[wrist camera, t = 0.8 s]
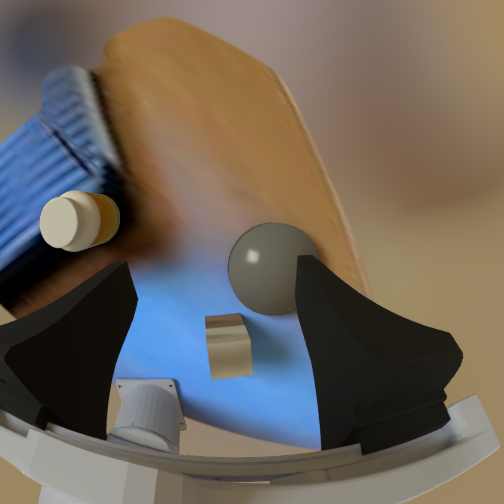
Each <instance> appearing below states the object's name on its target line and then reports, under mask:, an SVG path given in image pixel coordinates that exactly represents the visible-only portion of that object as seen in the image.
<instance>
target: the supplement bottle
mask: <svg viewBox="0 0 504 504" xmlns="http://www.w3.org/2000/svg"><path fill="white" fill-rule="evenodd" d="M119 223H120V213H119V210H118V207H117V205H116V204H115V202H114V201H113V200H112V199H111V198H109V197H108V196H105V195H102V194H95V193H89V192H83V191H69V192H66V193H64V194H62V195H61V196H60V197H57V198H54V199H52V200H50V201H49V202H48V203H47V204H46V205H45V207H44V209H43V211H42V213H41V217H40V229H41V233H42V235H43V237H44V239H45V241H46V242H47V243H48V244H50V245H51V246H53V247H56V248H63V249H65V250H67V251H80V250H83V249H86V248H89V247H92V246H95V245H99V244H102V243H104V242H107V241H108V240H110V239H111V238H112V237H113V236H114V235H115V233H116V232H117V230H118V227H119Z"/></svg>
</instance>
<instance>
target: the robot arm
mask: <svg viewBox="0 0 504 504" xmlns="http://www.w3.org/2000/svg"><path fill="white" fill-rule="evenodd" d="M295 301H296V307H297V314H298V318H299V322H300V325H301V329H302V332H303V335H304V339H305V342H306V346H307V349H308V353H309V356H310V360H311V364H312V369H313V375H314V381H315V388H316V396H317V404H318V413H319V423H320V435H321V451H318V452H311V453H303V454H295V455H284V456H271V457H249V458H248V457H247V458H228V457H227V458H226V457H203V456H190V455H180V454H179V432H180V431H181V430H186V424H185V420H184V417H183V413H182V410H181V406H180V402H179V398H178V394H177V390H176V386H175V382H174V380H173V379H117V380H116V382H115V383H116V386H117V389H118V391H119V394H120V397H121V399H122V404H121V407H120V411H119V413H118V417H117V420H116V423H115V426H114V427H113V426H112V427H111V431H110V433H109V435H108V433H107V432H106V425H107V424H106V423H107V411H108V401H109V395H110V389H111V383H112V378H113V374H114V369H115V365H116V362H117V359H118V356H119V353H120V351H121V348H122V346H123V343H124V341H125V338H126V336H127V333H128V331H129V328H130V326H131V323H132V321H133V318H134V314H135V311H136V307H137V302H138V297H137V294H136V290H135V287H134V284H133V281H132V278H131V274H130V271H129V267H128V264H127V261H124V262H114V263H112V264H110V265H108V266H106V267H105V268H103V269H102V270H100V271H99V272H97V273H96V274H94V275H93V276H92V277H90V278H89V279H87V280H86V281H84V282H83V283H82V284H80V285H79V286H77V287H76V288H74V289H73V290H71V291H70V292H68V293H67V294H65V295H64V296H62V297H61V298H59V299H57V300H56V301H54V302H52V303H51V304H49V305H47V306H45V307H43V308H42V309H39V310H37V311H35V312H33V313H31V314H29V315H27V316H25V317H22V318H20V319H18V320H15V321H12V322H9V323H7V324H4V325H0V456H1V457H3V458H4V459H6V460H7V461H8V462H10V463H11V464H13V465H14V466H16V467H17V468H18V469H19V470H20V472H21V473H23V474H24V475H26V476H28V477H29V478H31V479H32V480H34V481H36V482H38V483H40V484H41V485H42V489H41V494H40V499H39V504H401V503H404V502H406V501H409V500H411V499H413V498H416V497H418V496H420V495H422V494H425V493H426V492H428V491H431V490H433V489H435V488H437V487H439V486H440V485H442V484H444V483H446V482H448V481H450V480H451V479H453V478H455V477H457V476H458V475H460V474H462V473H463V472H465V471H467V470H468V469H470V468H471V467H473V466H475V465H476V464H478V463H479V462H480V461H482V460H483V459H485V458H486V457H488V456H489V455H491V454H492V453H493V452H495V451H496V450H497V449H499V447H500V444H499V441H498V439H497V436H496V434H495V431H494V429H493V427H492V425H491V422H490V420H489V418H488V416H487V414H486V412H485V410H484V407H483V406H482V403H481V401H480V399H479V397H478V396H477V394H472V395H470V396H468V397H466V398H464V399H462V400H460V401H458V402H456V403H454V404H452V405H451V406H449V407H448V408H447V409H446V407H445V404H444V401H445V400H446V399H447V395H446V394H445V391H444V388H445V387H446V386H447V384H448V383H449V382H450V380H451V379H452V378H453V376H454V375H455V374H456V372H457V371H458V369H459V367H460V365H461V362H462V359H463V353H462V351H461V349H460V348H459V346H458V344H457V343H456V341H455V340H454V338H453V337H452V335H451V334H450V333H449V332H445V331H442V330H438V329H434V328H431V327H427V326H424V325H422V324H419V323H416V322H413V321H411V320H409V319H406V318H404V317H402V316H399V315H397V314H395V313H393V312H391V311H389V310H387V309H385V308H383V307H381V306H380V305H378V304H376V303H374V302H373V301H371V300H370V299H368V298H366V297H365V296H363V295H362V294H360V293H359V292H357V291H356V290H355V289H353V288H352V287H350V286H349V285H348V284H346V283H345V282H344V281H343V280H341V279H340V278H339V277H338V276H337V275H335V274H334V273H333V272H332V271H331V270H329V269H328V268H327V267H326V266H325V265H324V264H323V263H321V262H320V261H319V260H318V259H317V258H316V257H315V256H313V255H298V257H297V272H296V286H295ZM119 385H121V386H122V387H121V386H119ZM170 385H173V386H170ZM222 481H224V482H222ZM255 481H270V484H254V483H253V484H252V483H234V482H255Z"/></svg>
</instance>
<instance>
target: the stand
mask: <svg viewBox="0 0 504 504" xmlns="http://www.w3.org/2000/svg"><path fill="white" fill-rule="evenodd" d="M298 255H313V256H315V257H316V258H317V259H318V260H319V261H320V258H319V254H318V251H317V248H316V246H315V244H314V243H313V241H312V240H311V239H310V238H309V236H308V235H307V234H305V233H304V232H303V231H301V230H300V229H298V228H296V227H294V226H291V225H288V224H282V223H264V224H260V225H257V226H255V227H253V228H251V229H249V230H248V231H247V232H245V233H244V234H243V235H242V236H241V237H240V238H239V239H238V240H237V242H236V243H235V245H234V246H233V248H232V250H231V253H230V256H229V260H228V276H229V280H230V283H231V286H232V288H233V290H234V293H235V294H236V296H237V298H238V299H239V300H240V301H241V303H243V304H244V305H245V306H246V307H247V308H249V309H250V310H252V311H254V312H256V313H259V314H263V315H271V316H274V315H282V314H286V313H289V312H291V311H293V310H295V309H297V307H296V301H295V286H296V272H297V257H298Z"/></svg>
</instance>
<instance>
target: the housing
mask: <svg viewBox="0 0 504 504" xmlns="http://www.w3.org/2000/svg"><path fill="white" fill-rule="evenodd" d="M205 324H206V341H207V350H208V357H209V364H210V370H211V377H212V380H215V379H225V378H234V377H242V376H249V375H253V367H252V352H251V339H250V337H249V334H248V332H247V329H246V327H245V325H244V322H243V320H242V317H241V315H240V313H236V314H227V315H217V316H206V317H205Z"/></svg>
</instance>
